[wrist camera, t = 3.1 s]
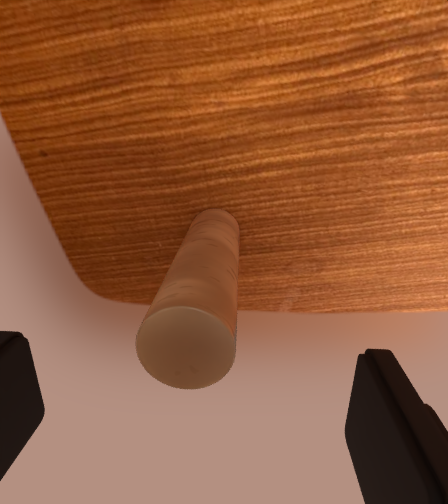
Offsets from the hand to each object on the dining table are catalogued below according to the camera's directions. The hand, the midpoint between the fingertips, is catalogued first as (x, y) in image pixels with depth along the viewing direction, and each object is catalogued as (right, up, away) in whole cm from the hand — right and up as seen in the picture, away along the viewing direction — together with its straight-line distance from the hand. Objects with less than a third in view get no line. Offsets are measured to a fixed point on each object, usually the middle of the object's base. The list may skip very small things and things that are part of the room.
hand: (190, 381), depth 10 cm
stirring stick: (0, +5, +12) cm, 13 cm away
